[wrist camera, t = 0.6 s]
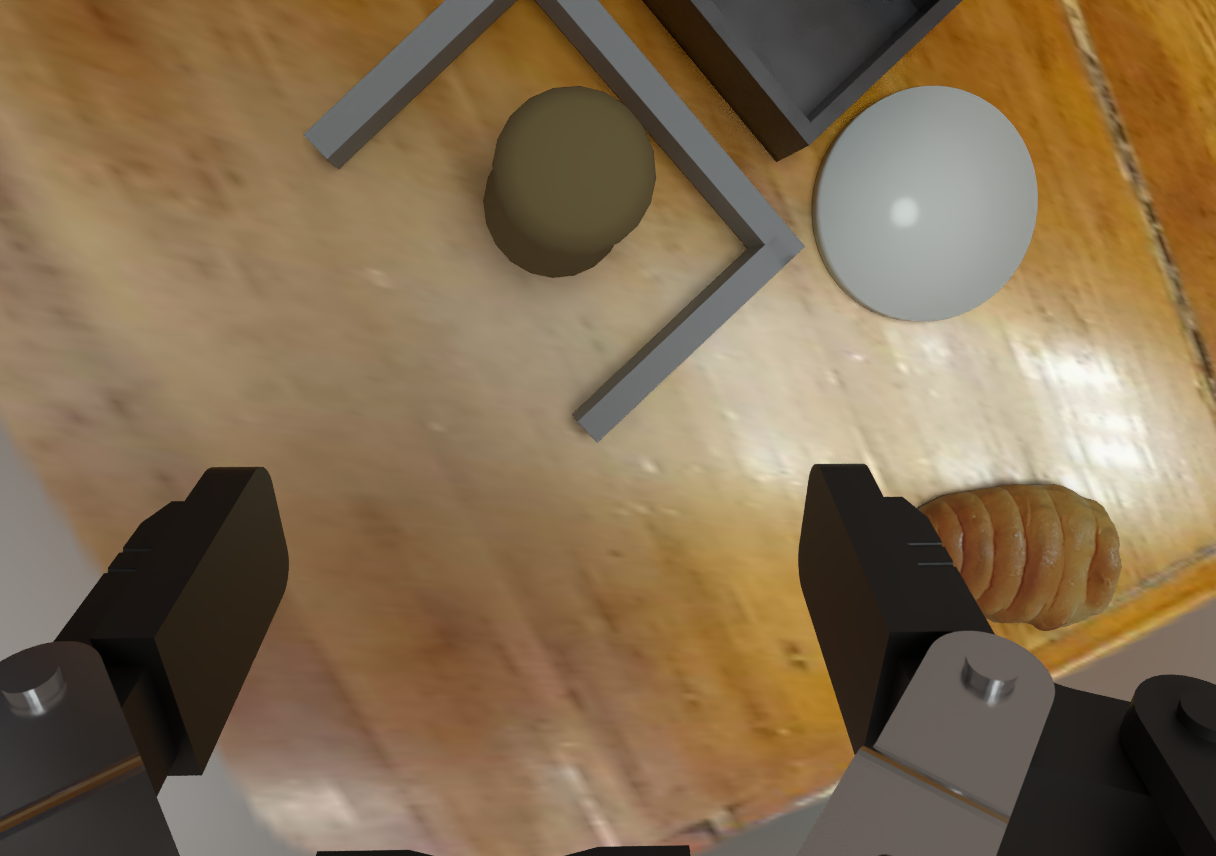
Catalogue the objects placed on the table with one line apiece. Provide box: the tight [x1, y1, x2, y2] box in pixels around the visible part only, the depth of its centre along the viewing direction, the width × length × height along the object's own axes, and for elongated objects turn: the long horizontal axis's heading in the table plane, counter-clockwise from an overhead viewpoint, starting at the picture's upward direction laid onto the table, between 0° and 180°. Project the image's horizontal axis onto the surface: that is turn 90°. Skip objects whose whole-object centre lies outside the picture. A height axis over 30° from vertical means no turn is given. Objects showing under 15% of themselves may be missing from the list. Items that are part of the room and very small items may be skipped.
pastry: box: [918, 484, 1122, 631], centre depth 40 cm, size 9×7×4 cm
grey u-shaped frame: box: [304, 0, 805, 443], centre depth 36 cm, size 16×12×2 cm
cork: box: [484, 86, 656, 278], centre depth 32 cm, size 6×6×11 cm
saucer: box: [812, 86, 1038, 321], centre depth 38 cm, size 10×10×1 cm
